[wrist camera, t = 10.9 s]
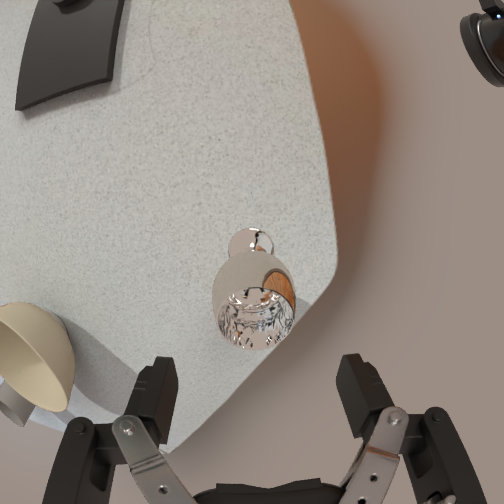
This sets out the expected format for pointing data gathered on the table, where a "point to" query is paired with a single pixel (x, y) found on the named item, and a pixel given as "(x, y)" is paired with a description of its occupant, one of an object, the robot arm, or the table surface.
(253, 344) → the wineglass
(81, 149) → the table surface
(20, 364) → the bowl
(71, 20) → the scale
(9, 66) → the table surface
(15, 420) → the cup
